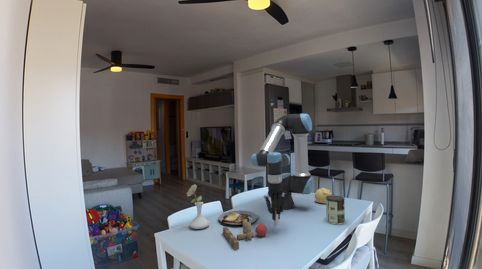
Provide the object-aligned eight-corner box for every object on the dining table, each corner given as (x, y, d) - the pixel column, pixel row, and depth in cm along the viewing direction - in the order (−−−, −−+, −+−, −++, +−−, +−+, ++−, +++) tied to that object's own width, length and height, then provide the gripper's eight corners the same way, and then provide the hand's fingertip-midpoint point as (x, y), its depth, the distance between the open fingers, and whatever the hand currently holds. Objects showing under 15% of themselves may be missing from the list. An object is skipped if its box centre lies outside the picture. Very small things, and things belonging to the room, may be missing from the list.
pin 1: (242, 235, 133) (242, 219, 132) (246, 234, 133) (246, 218, 133) (244, 237, 130) (243, 220, 130) (248, 236, 131) (248, 220, 131)
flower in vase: (201, 221, 154) (200, 180, 153) (213, 226, 146) (212, 183, 145) (183, 228, 144) (181, 184, 144) (194, 233, 136) (193, 187, 136)
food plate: (250, 229, 140) (250, 223, 140) (212, 225, 148) (212, 219, 148) (262, 216, 163) (262, 210, 163) (229, 213, 171) (228, 207, 171)
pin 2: (245, 239, 128) (245, 222, 128) (250, 238, 129) (250, 221, 128) (247, 241, 126) (247, 224, 125) (252, 240, 126) (251, 223, 126)
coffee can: (343, 218, 153) (342, 195, 153) (346, 225, 143) (346, 200, 143) (325, 217, 155) (324, 194, 155) (327, 224, 145) (327, 199, 145)
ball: (261, 219, 135) (265, 229, 136) (251, 226, 133) (255, 235, 134) (266, 224, 129) (270, 234, 130) (256, 230, 127) (261, 240, 128)
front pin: (252, 235, 132) (236, 238, 129) (252, 231, 132) (236, 234, 129) (253, 237, 129) (238, 240, 126) (253, 233, 129) (238, 236, 126)
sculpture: (331, 205, 179) (330, 190, 179) (313, 203, 184) (313, 189, 184) (332, 201, 189) (332, 186, 189) (316, 199, 194) (315, 185, 194)
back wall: (222, 233, 135) (222, 227, 135) (226, 232, 136) (226, 226, 136) (234, 250, 117) (234, 242, 117) (239, 249, 117) (238, 241, 117)
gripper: (267, 184, 129) (268, 230, 130) (289, 181, 133) (290, 226, 134) (260, 181, 136) (262, 225, 137) (282, 179, 140) (283, 221, 141)
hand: (276, 225), depth 135 cm, fingers closed
